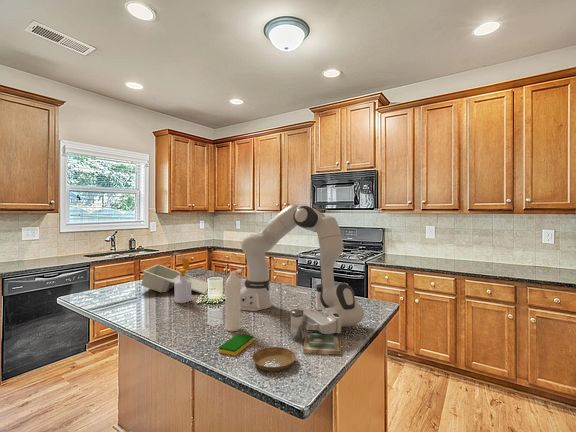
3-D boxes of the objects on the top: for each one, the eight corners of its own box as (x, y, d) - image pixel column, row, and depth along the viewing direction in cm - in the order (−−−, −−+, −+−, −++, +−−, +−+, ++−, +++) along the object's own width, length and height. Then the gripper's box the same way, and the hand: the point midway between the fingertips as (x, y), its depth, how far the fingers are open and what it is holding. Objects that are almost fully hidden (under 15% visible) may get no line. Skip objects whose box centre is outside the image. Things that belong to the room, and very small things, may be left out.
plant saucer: (242, 366, 104) (242, 358, 104) (269, 350, 116) (269, 343, 116) (278, 380, 96) (279, 371, 96) (303, 361, 108) (303, 353, 108)
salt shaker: (289, 340, 124) (289, 313, 124) (290, 335, 129) (290, 309, 129) (302, 341, 123) (303, 313, 123) (303, 336, 129) (303, 309, 129)
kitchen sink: (198, 310, 191) (212, 272, 191) (136, 287, 190) (150, 249, 189) (207, 299, 215) (220, 265, 215) (152, 279, 213) (164, 244, 213)
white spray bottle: (234, 332, 132) (234, 273, 131) (222, 329, 135) (222, 272, 135) (246, 325, 140) (246, 270, 139) (235, 323, 143) (235, 268, 142)
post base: (303, 353, 114) (303, 344, 114) (305, 338, 126) (305, 331, 126) (339, 355, 112) (339, 346, 112) (337, 340, 125) (337, 332, 125)
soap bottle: (170, 302, 174) (170, 258, 174) (182, 298, 183) (182, 256, 182) (183, 304, 171) (183, 259, 170) (194, 299, 179) (194, 257, 179)
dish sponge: (253, 341, 124) (253, 335, 124) (235, 357, 111) (235, 350, 111) (238, 339, 127) (238, 333, 127) (218, 353, 114) (218, 347, 114)
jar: (322, 312, 159) (322, 288, 159) (312, 307, 166) (312, 285, 166) (335, 309, 164) (335, 286, 164) (325, 304, 171) (325, 283, 170)
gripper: (317, 304, 142) (289, 308, 136) (343, 318, 124) (312, 323, 118) (317, 317, 142) (289, 322, 137) (343, 334, 124) (312, 340, 118)
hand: (300, 323), depth 127 cm, fingers open, 8 cm apart
